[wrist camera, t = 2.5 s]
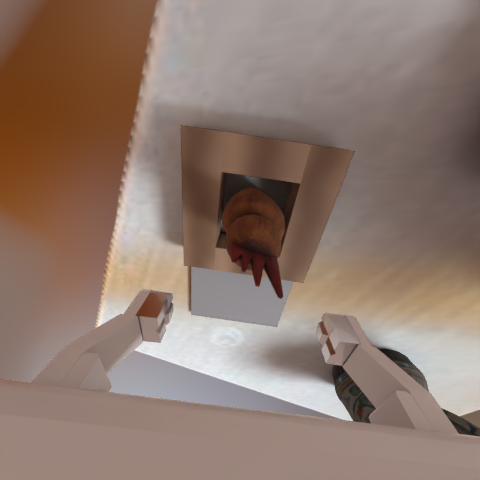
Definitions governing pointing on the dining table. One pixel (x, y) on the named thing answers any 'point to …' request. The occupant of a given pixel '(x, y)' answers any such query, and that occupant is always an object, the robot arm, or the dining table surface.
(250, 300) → the slate mat
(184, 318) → the dining table surface
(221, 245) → the walnut socket block
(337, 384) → the beer stein
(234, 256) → the wooden figurine
